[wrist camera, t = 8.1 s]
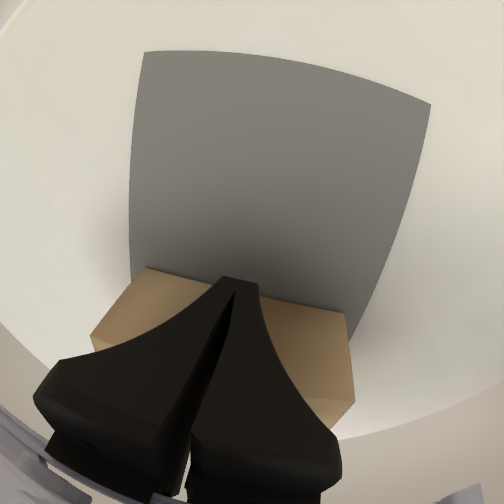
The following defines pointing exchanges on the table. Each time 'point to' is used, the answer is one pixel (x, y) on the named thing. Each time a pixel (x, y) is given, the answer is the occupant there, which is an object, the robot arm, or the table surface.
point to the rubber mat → (270, 175)
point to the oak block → (278, 325)
